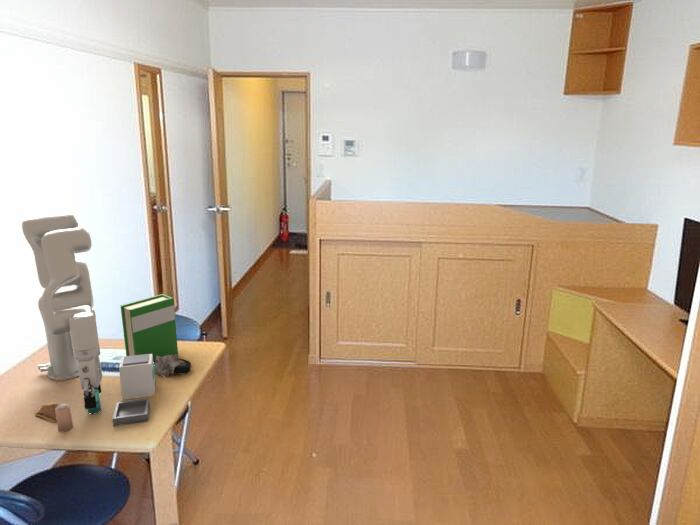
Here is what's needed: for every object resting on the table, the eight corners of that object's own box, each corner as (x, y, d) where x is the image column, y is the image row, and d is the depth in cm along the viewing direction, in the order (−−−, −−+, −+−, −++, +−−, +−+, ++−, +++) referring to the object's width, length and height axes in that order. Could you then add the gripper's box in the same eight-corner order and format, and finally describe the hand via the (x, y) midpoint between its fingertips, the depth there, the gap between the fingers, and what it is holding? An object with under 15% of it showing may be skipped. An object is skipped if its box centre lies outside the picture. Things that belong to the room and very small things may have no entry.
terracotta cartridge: (56, 432, 159) (53, 410, 157) (59, 425, 162) (56, 403, 160) (71, 430, 160) (68, 408, 158) (74, 423, 164) (70, 401, 162)
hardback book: (137, 369, 198) (130, 310, 192) (127, 363, 203) (120, 305, 196) (178, 353, 212) (173, 297, 205) (167, 348, 216) (162, 293, 210)
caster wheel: (193, 374, 200) (177, 383, 191) (168, 364, 203) (152, 372, 194) (196, 358, 199) (181, 366, 190) (172, 348, 202) (155, 355, 192)
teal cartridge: (86, 415, 168) (83, 393, 166) (88, 408, 172) (86, 387, 170) (100, 413, 169) (97, 392, 167) (102, 406, 173) (99, 386, 171)
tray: (113, 426, 162) (112, 418, 162) (117, 409, 172) (116, 402, 171) (147, 421, 165) (147, 414, 164) (149, 404, 174) (149, 398, 174)
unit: (121, 399, 177) (117, 365, 174) (124, 388, 185) (120, 355, 181) (155, 395, 180) (151, 362, 177) (156, 384, 188) (153, 352, 184)
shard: (57, 424, 163) (56, 419, 163) (29, 428, 161) (28, 423, 161) (65, 407, 173) (64, 402, 173) (39, 410, 171) (38, 405, 171)
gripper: (95, 361, 158) (102, 412, 162) (103, 339, 174) (109, 386, 178) (67, 364, 156) (75, 416, 160) (78, 342, 172) (85, 389, 176)
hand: (93, 400), depth 169 cm, fingers open, 9 cm apart
